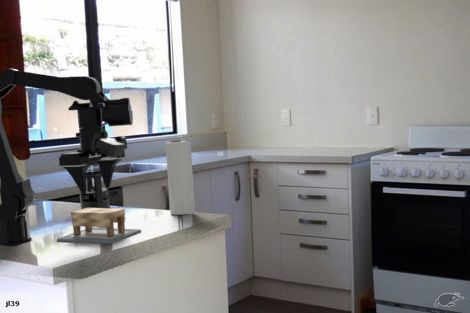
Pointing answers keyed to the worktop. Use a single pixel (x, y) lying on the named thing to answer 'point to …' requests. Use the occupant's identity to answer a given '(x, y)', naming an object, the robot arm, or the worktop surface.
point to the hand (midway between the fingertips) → (96, 190)
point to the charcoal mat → (99, 236)
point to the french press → (94, 189)
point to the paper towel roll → (180, 177)
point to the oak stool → (98, 220)
